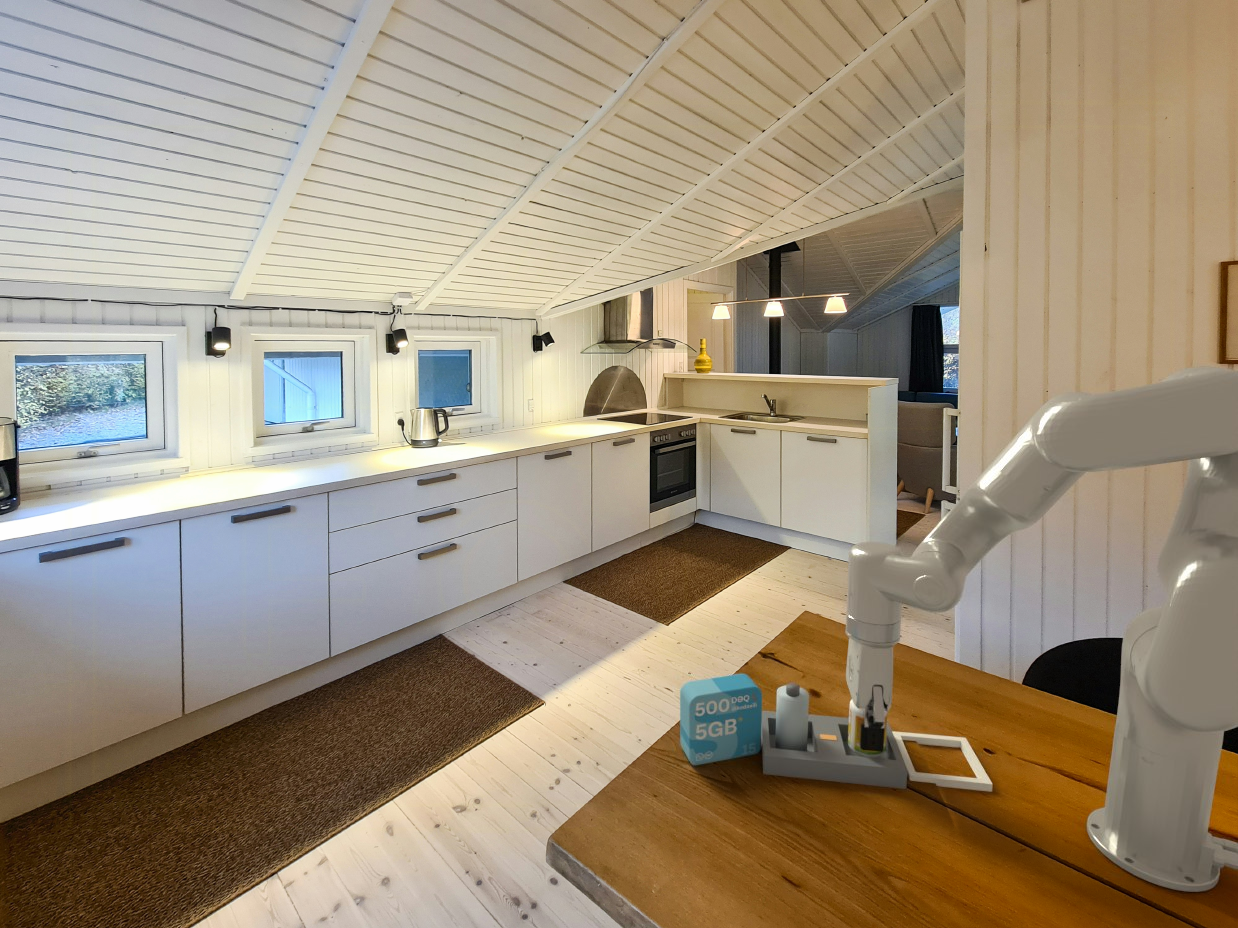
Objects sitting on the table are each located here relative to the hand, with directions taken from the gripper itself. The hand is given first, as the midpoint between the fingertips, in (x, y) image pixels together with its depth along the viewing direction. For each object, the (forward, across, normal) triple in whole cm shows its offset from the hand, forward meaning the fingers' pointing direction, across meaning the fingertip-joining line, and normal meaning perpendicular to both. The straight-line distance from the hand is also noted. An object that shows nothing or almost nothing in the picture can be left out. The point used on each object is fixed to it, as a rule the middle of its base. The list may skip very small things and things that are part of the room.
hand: (867, 735), depth 95 cm
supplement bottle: (+2, 0, 0) cm, 2 cm away
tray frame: (+4, -2, +11) cm, 12 cm away
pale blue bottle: (+4, 0, -11) cm, 12 cm away
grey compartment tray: (+4, 0, -6) cm, 7 cm away
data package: (+5, +1, -22) cm, 23 cm away
